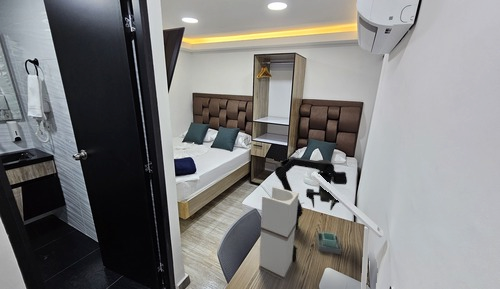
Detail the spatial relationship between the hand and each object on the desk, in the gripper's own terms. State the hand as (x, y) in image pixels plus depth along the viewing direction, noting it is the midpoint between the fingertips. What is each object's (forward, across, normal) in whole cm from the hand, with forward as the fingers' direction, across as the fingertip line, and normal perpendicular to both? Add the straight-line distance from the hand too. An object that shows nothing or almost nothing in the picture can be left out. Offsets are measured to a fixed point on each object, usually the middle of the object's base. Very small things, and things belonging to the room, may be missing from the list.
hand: (322, 208), depth 114 cm
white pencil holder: (+12, -21, -34) cm, 42 cm away
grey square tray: (+12, +3, -14) cm, 19 cm away
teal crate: (+12, +3, -14) cm, 19 cm away
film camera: (+12, -19, -25) cm, 34 cm away
